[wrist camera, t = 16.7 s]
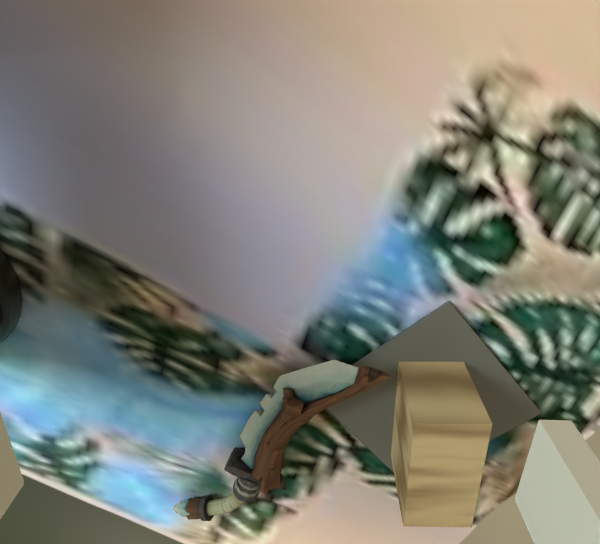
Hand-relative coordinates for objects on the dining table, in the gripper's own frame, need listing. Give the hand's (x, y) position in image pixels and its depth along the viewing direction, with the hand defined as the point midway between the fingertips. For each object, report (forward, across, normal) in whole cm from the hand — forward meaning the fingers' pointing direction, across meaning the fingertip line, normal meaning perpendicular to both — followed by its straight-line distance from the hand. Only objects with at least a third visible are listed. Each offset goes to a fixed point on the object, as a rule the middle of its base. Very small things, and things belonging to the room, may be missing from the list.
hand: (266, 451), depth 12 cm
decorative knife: (+28, -3, -28) cm, 40 cm away
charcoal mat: (+28, +13, -22) cm, 38 cm away
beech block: (+23, +13, -29) cm, 40 cm away
